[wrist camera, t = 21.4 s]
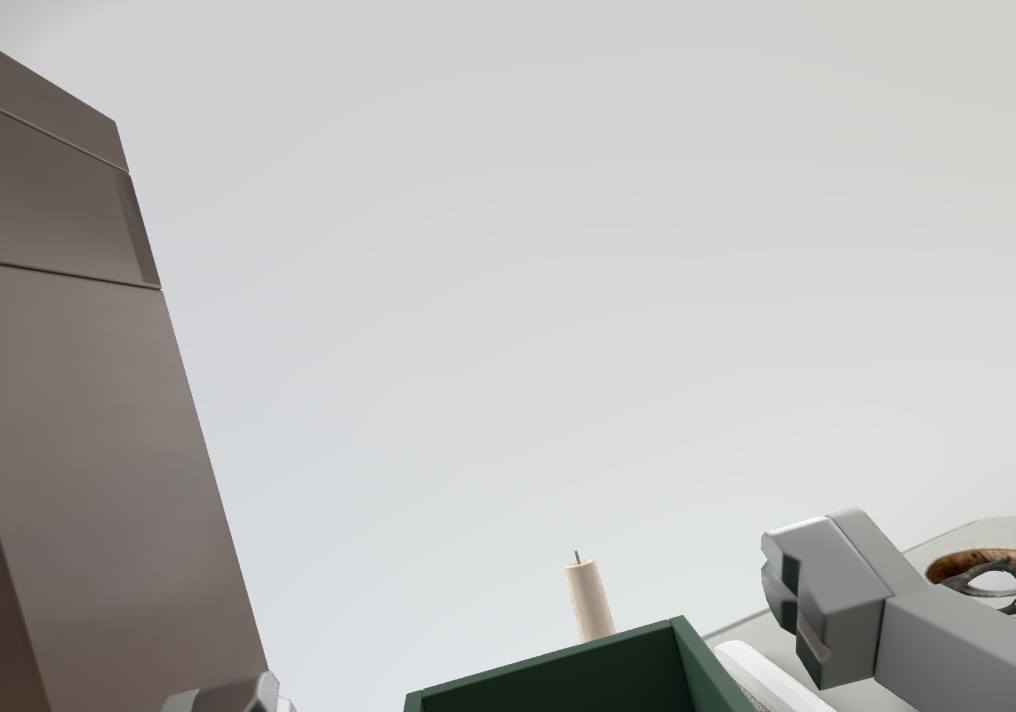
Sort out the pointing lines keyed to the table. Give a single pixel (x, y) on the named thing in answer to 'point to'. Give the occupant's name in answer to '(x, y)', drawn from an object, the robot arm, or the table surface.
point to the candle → (589, 600)
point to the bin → (600, 678)
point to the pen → (767, 680)
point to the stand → (99, 439)
